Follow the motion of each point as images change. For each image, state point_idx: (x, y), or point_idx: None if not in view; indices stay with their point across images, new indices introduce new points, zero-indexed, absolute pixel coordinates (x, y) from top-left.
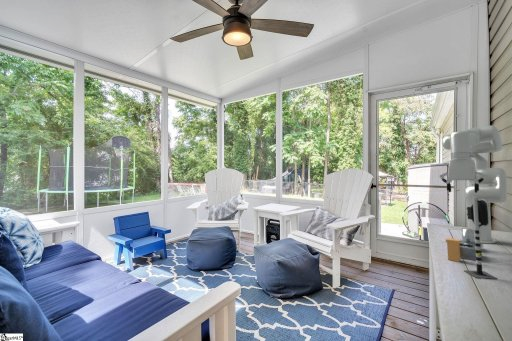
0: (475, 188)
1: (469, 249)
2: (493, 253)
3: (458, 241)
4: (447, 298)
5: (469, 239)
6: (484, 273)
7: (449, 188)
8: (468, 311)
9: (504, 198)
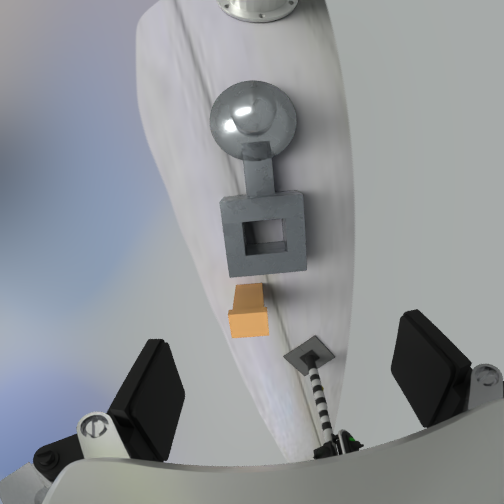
0: (411, 395)
1: (283, 270)
2: (319, 135)
3: (266, 334)
4: (282, 440)
5: (260, 134)
6: (316, 348)
7: (171, 423)
8: (303, 446)
9: None
